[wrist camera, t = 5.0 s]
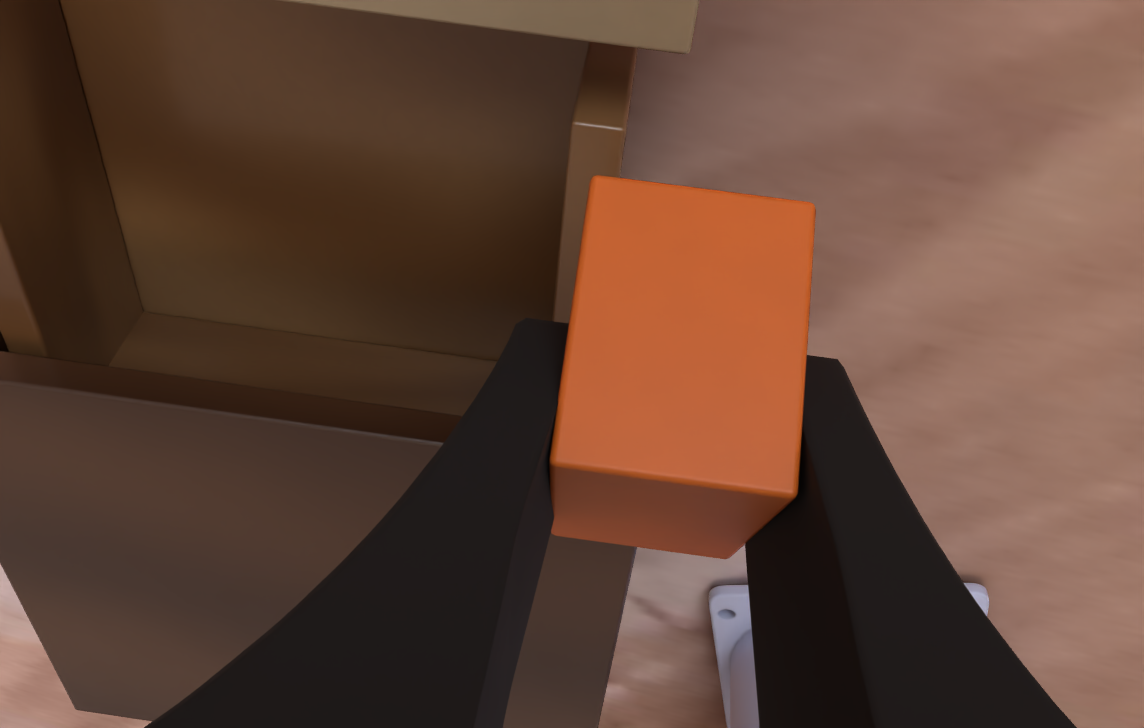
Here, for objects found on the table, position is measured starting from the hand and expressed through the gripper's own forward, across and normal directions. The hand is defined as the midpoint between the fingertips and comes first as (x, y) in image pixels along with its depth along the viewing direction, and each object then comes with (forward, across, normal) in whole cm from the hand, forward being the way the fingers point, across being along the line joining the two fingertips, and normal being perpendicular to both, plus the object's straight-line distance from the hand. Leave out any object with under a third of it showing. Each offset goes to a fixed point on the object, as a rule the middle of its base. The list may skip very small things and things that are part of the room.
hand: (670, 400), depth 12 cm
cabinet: (+10, +6, +11) cm, 16 cm away
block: (+2, 0, 0) cm, 2 cm away
